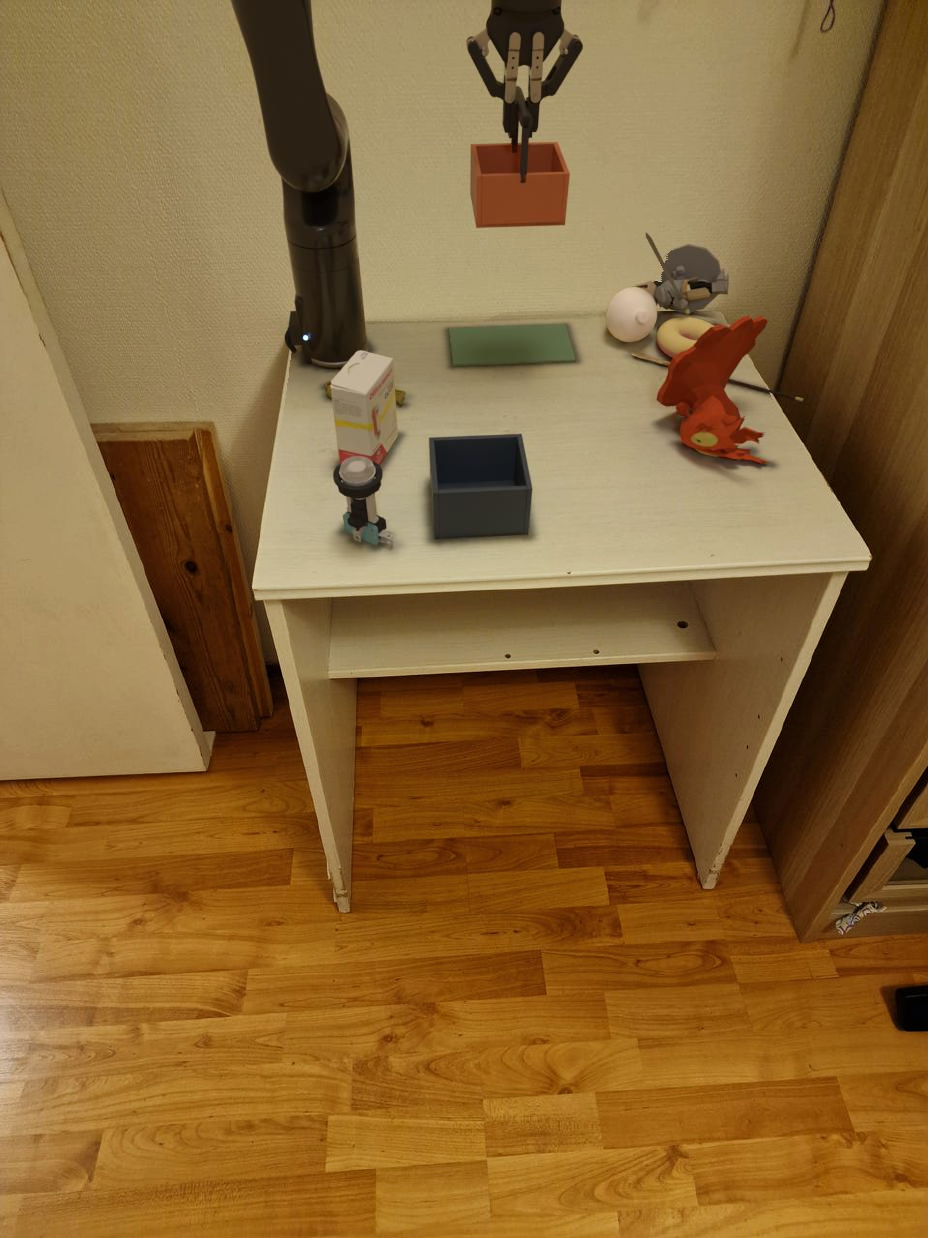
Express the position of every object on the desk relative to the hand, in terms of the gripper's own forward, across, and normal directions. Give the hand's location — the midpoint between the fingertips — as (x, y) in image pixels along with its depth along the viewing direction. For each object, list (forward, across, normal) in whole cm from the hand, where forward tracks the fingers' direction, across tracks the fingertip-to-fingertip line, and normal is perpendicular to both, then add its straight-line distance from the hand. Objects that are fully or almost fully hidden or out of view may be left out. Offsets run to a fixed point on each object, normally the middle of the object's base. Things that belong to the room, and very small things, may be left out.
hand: (519, 135), depth 95 cm
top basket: (+9, 0, 0) cm, 9 cm away
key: (+30, +21, +9) cm, 38 cm away
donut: (+29, -23, +2) cm, 37 cm away
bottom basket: (+30, +7, +33) cm, 45 cm away
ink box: (+30, +20, +21) cm, 41 cm away
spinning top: (+29, -18, -11) cm, 36 cm away
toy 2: (+22, -24, +14) cm, 36 cm away
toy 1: (+19, -31, -6) cm, 37 cm away
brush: (+29, -18, 0) cm, 34 cm away
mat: (+30, -1, -4) cm, 30 cm away
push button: (+30, +20, +37) cm, 51 cm away
